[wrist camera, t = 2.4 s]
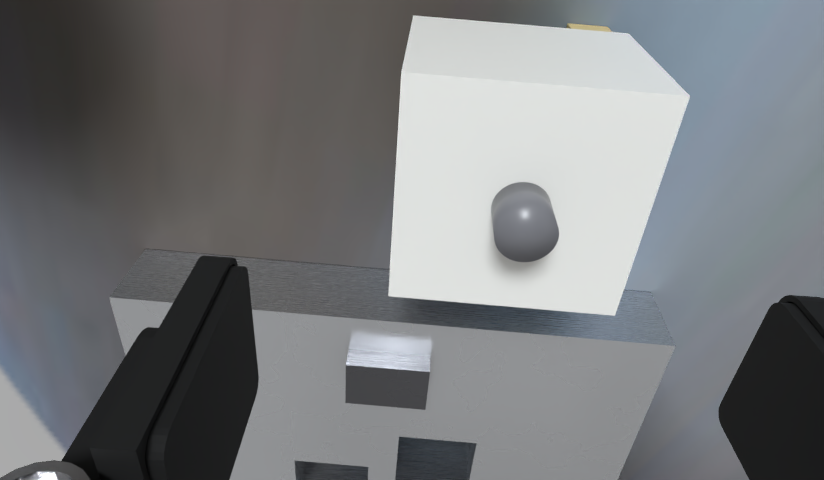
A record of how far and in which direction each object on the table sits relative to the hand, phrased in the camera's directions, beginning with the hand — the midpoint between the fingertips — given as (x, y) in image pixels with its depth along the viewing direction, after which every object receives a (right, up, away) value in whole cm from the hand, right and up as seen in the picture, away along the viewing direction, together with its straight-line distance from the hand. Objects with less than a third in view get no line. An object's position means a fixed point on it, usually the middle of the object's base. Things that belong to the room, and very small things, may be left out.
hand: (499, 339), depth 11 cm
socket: (-3, -8, +18) cm, 20 cm away
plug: (+1, +6, +9) cm, 11 cm away
